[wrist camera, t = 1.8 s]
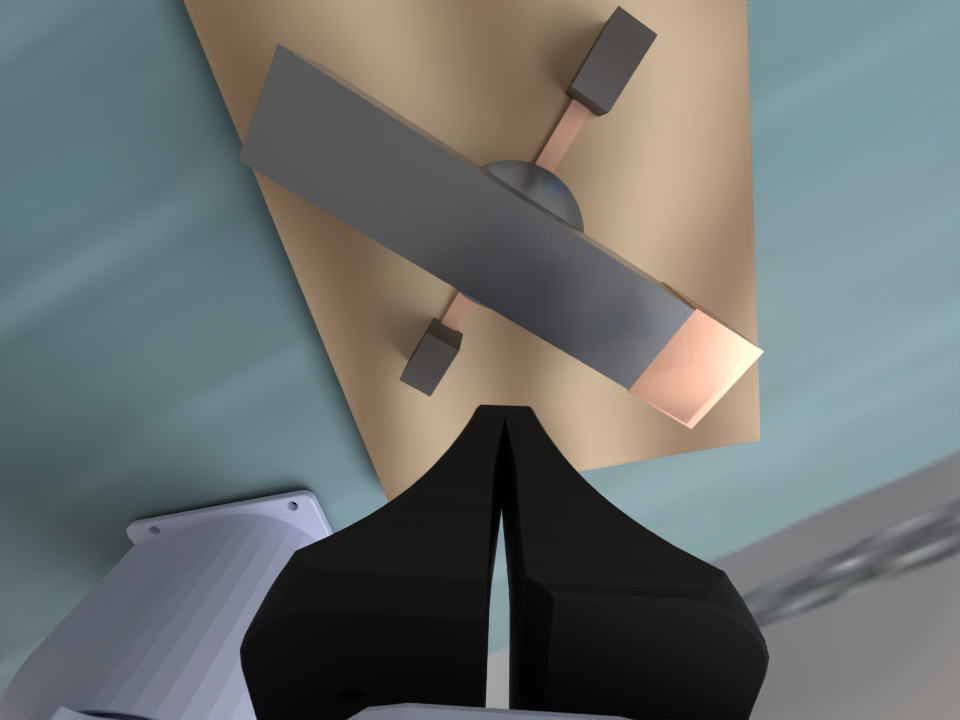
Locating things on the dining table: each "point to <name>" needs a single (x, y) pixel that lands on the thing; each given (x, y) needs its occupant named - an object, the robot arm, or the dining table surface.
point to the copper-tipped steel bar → (490, 237)
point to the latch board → (539, 140)
